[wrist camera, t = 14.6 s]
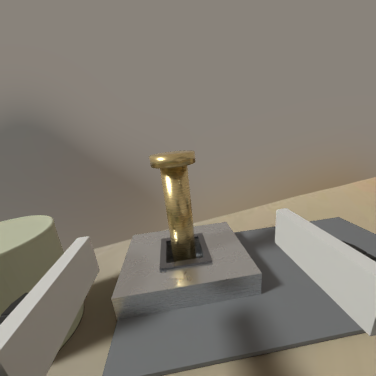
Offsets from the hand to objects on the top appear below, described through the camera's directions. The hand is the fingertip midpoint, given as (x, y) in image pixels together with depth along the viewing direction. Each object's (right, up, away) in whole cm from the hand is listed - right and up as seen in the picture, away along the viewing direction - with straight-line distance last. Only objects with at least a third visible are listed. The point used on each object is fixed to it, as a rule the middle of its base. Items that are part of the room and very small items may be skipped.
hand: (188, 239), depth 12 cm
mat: (+11, -7, +12) cm, 18 cm away
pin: (0, -8, +13) cm, 15 cm away
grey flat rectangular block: (0, -8, +13) cm, 15 cm away
